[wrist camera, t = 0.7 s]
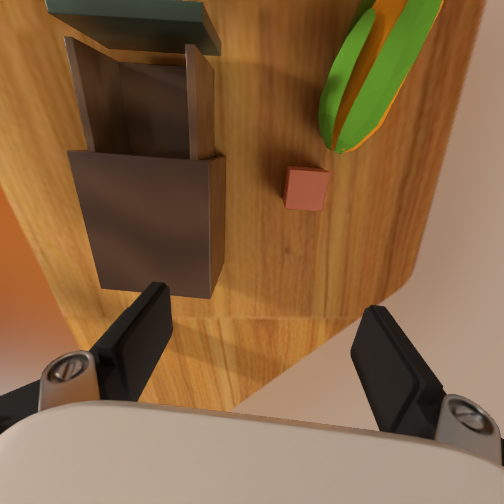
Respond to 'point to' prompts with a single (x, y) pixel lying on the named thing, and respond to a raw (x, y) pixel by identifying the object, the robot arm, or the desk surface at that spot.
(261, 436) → the robot arm
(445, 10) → the desk surface
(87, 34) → the drawer
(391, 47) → the corn
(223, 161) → the cabinet
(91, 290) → the desk surface
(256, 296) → the desk surface
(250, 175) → the desk surface
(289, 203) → the block
